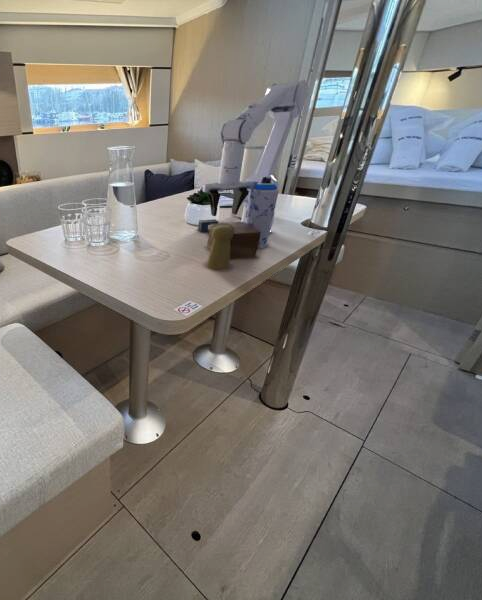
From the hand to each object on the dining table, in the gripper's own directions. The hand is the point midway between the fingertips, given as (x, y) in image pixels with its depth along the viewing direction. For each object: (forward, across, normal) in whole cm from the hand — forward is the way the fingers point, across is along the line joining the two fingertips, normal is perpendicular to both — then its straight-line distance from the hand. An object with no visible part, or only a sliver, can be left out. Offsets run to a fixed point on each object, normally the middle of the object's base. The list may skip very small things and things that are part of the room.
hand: (223, 214), depth 97 cm
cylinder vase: (+10, +24, +29) cm, 39 cm away
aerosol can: (+10, +10, -2) cm, 14 cm away
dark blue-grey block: (+9, +2, +14) cm, 17 cm away
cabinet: (+9, 0, -8) cm, 12 cm away
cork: (+10, -8, -17) cm, 21 cm away
